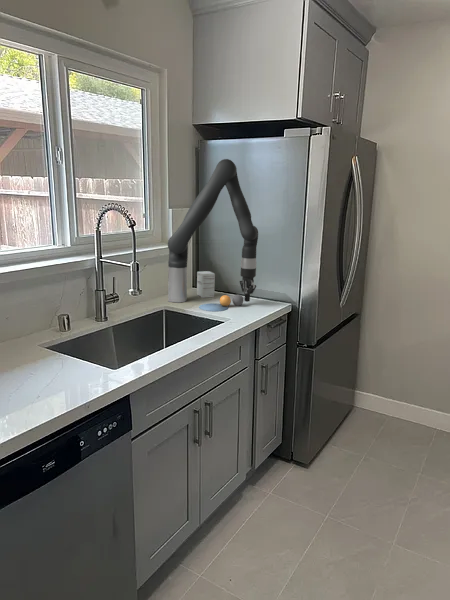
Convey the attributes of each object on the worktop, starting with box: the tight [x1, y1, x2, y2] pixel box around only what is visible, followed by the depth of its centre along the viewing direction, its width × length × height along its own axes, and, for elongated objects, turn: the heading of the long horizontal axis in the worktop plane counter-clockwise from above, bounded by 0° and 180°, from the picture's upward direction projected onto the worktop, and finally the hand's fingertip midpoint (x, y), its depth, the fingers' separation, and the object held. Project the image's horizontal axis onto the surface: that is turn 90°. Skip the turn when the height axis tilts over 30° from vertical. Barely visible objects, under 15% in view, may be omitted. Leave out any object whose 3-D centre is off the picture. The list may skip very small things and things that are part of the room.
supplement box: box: [196, 270, 216, 299], centre depth 242 cm, size 7×7×13 cm
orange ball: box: [219, 294, 232, 307], centre depth 223 cm, size 6×6×6 cm
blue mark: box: [198, 303, 229, 312], centre depth 221 cm, size 14×14×1 cm
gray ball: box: [231, 294, 244, 307], centre depth 225 cm, size 6×6×6 cm
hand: (246, 301), depth 229 cm, fingers closed
